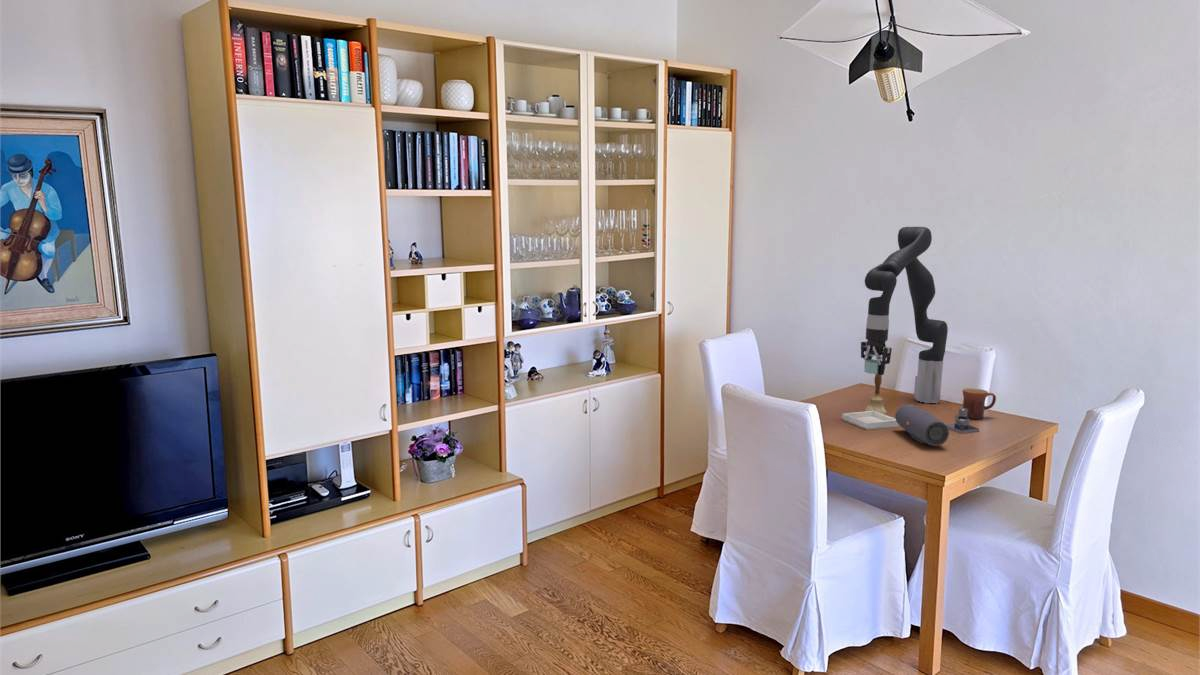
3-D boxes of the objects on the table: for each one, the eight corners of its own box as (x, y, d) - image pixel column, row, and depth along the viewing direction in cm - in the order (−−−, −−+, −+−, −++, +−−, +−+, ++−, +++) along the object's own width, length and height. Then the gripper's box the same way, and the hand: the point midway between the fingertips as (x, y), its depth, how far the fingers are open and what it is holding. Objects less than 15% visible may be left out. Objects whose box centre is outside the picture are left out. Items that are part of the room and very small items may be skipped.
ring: (860, 370, 300) (861, 360, 299) (877, 369, 302) (878, 358, 302) (872, 374, 294) (873, 363, 293) (889, 373, 296) (890, 362, 296)
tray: (842, 419, 305) (842, 413, 305) (873, 416, 310) (873, 410, 310) (866, 430, 292) (867, 423, 292) (898, 426, 297) (899, 420, 297)
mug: (964, 420, 307) (966, 393, 306) (956, 413, 316) (959, 387, 314) (998, 421, 306) (1000, 394, 304) (989, 415, 315) (991, 388, 313)
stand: (944, 427, 297) (946, 407, 296) (961, 425, 300) (963, 405, 298) (961, 433, 290) (963, 412, 288) (978, 431, 292) (980, 410, 291)
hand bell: (890, 414, 314) (893, 373, 311) (868, 414, 314) (871, 373, 311) (883, 409, 322) (886, 368, 319) (861, 408, 322) (864, 368, 319)
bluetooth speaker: (892, 430, 293) (894, 402, 291) (917, 430, 293) (920, 402, 292) (921, 449, 270) (924, 420, 269) (949, 449, 271) (951, 419, 269)
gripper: (855, 324, 300) (852, 369, 303) (882, 330, 287) (878, 377, 290) (872, 323, 303) (869, 368, 306) (899, 329, 290) (896, 376, 293)
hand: (874, 372), depth 298 cm, fingers closed on ring, 6 cm apart
